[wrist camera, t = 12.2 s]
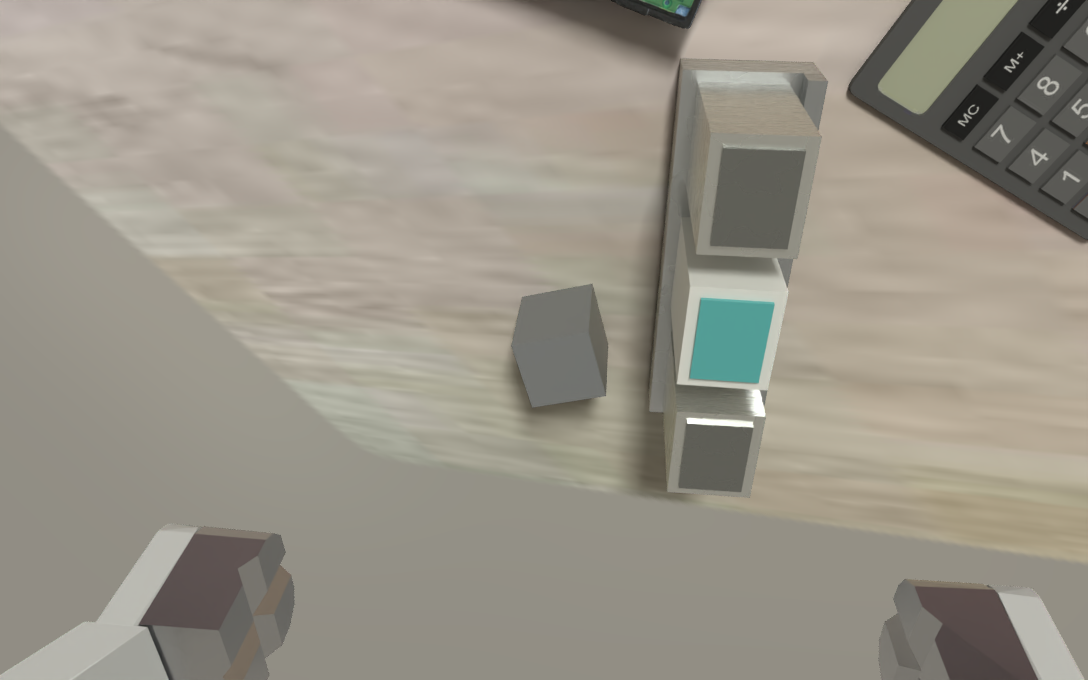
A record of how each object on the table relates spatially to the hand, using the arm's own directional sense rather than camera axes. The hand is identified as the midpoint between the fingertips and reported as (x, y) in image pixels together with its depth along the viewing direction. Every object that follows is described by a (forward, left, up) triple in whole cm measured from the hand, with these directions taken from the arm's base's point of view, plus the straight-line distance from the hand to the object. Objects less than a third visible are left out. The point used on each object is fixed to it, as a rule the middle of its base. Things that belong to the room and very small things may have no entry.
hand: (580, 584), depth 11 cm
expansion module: (+6, -10, -29) cm, 31 cm away
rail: (+6, -10, -31) cm, 33 cm away
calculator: (+20, 0, -32) cm, 38 cm away
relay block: (-2, -15, -31) cm, 35 cm away
